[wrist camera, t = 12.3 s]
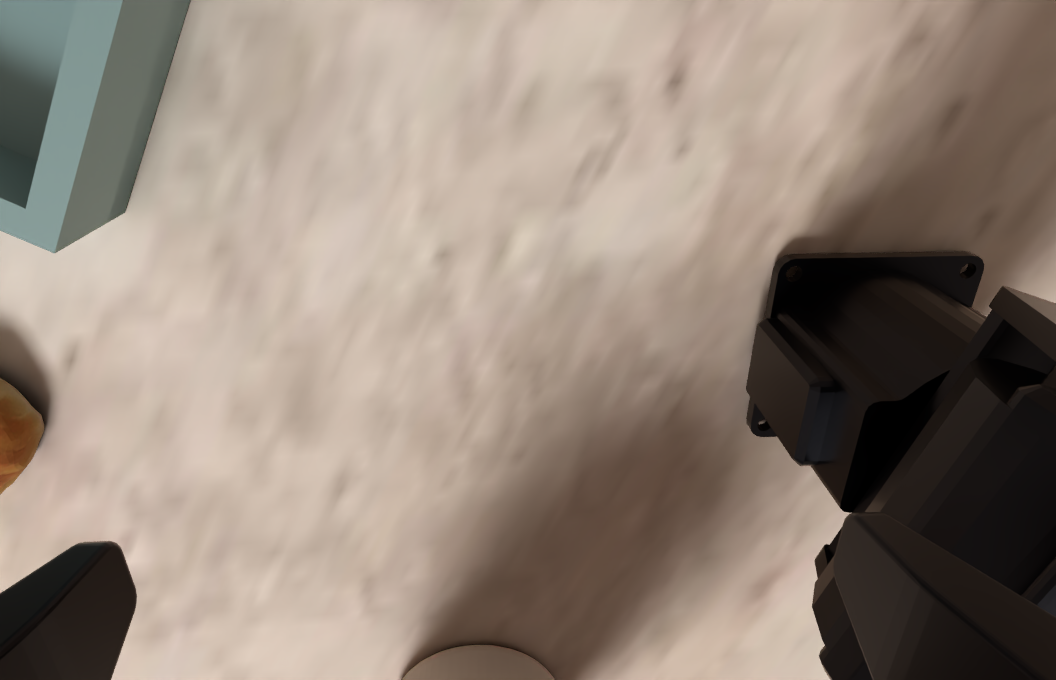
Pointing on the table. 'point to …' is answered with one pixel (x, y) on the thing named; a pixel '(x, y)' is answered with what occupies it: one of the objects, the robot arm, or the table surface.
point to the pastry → (16, 433)
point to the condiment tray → (77, 109)
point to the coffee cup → (479, 665)
